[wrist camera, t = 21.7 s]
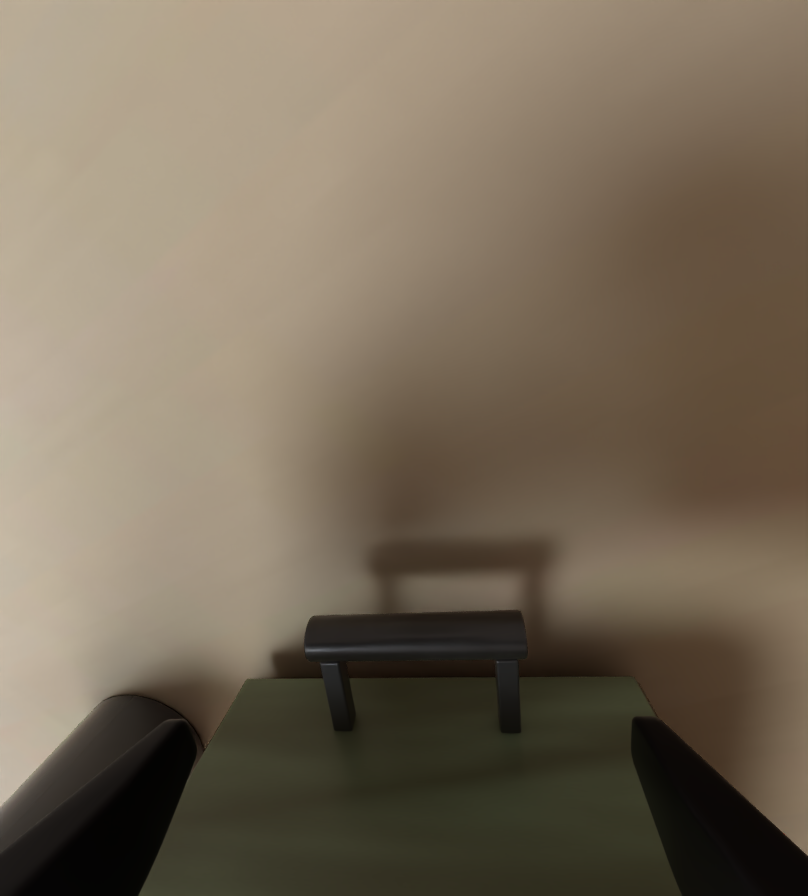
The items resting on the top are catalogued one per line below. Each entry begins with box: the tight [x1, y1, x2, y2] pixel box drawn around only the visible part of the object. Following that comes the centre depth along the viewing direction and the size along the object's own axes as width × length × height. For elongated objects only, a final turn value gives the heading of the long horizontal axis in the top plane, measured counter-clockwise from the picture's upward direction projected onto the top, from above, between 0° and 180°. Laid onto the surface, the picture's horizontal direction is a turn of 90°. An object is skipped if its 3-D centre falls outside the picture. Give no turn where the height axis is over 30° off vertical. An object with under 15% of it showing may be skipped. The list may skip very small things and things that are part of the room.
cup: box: [0, 695, 203, 852], centre depth 13 cm, size 5×5×8 cm
